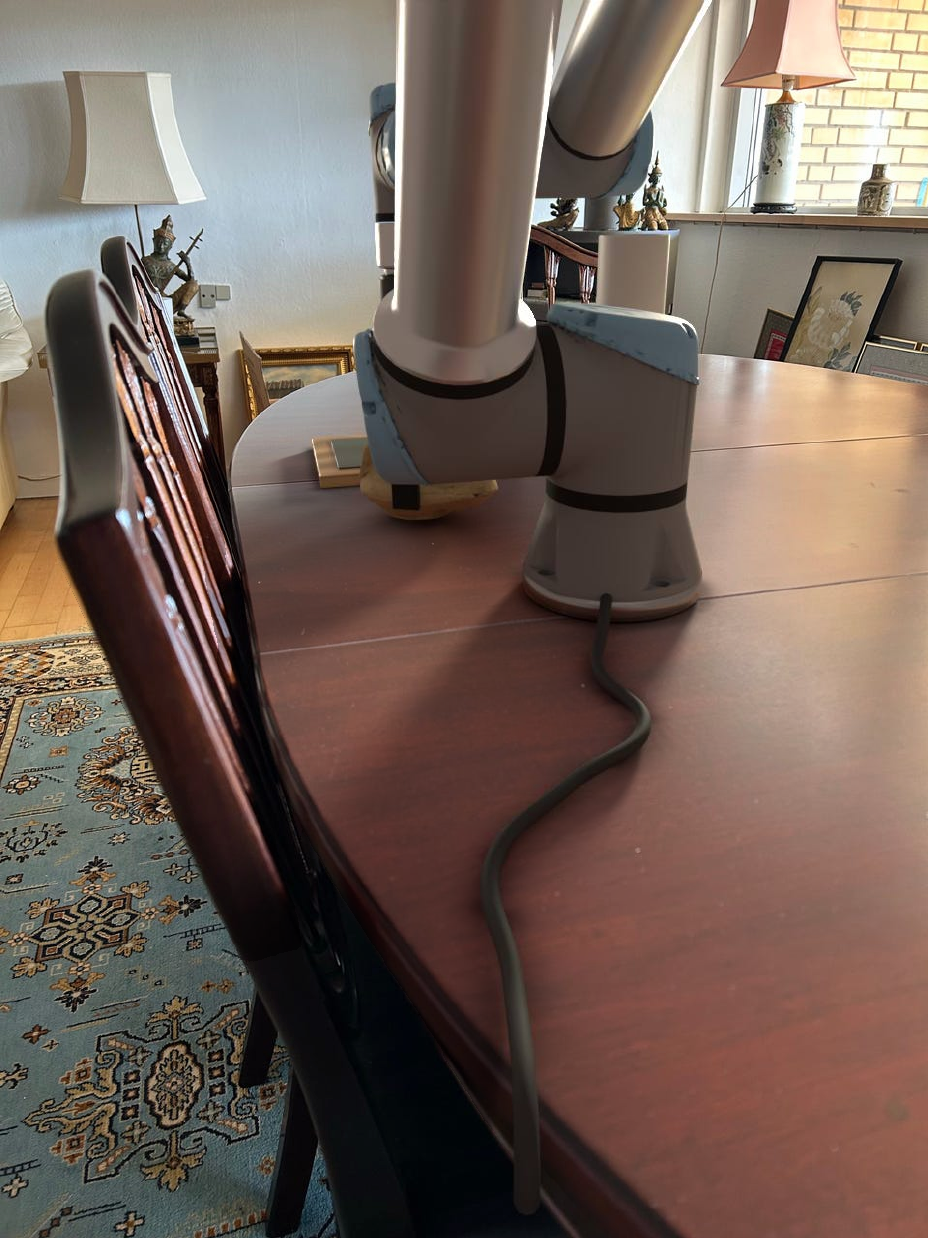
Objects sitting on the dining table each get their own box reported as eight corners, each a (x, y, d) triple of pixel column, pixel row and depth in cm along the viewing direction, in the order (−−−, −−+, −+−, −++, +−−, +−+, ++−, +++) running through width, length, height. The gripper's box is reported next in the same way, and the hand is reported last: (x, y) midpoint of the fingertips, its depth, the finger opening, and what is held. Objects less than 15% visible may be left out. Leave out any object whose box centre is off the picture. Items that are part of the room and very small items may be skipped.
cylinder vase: (582, 375, 173) (587, 235, 163) (640, 370, 177) (649, 233, 166) (611, 386, 162) (618, 237, 152) (672, 381, 166) (683, 234, 155)
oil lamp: (496, 530, 91) (495, 453, 87) (350, 530, 92) (344, 454, 88) (500, 498, 100) (499, 427, 97) (368, 499, 102) (363, 429, 98)
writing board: (451, 478, 110) (451, 465, 109) (320, 488, 107) (319, 474, 106) (425, 440, 128) (424, 429, 127) (312, 448, 125) (311, 436, 124)
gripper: (411, 279, 74) (421, 529, 83) (488, 264, 95) (490, 466, 104) (329, 279, 77) (348, 523, 86) (422, 264, 97) (429, 463, 106)
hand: (426, 492), depth 95 cm, fingers closed on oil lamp, 11 cm apart
